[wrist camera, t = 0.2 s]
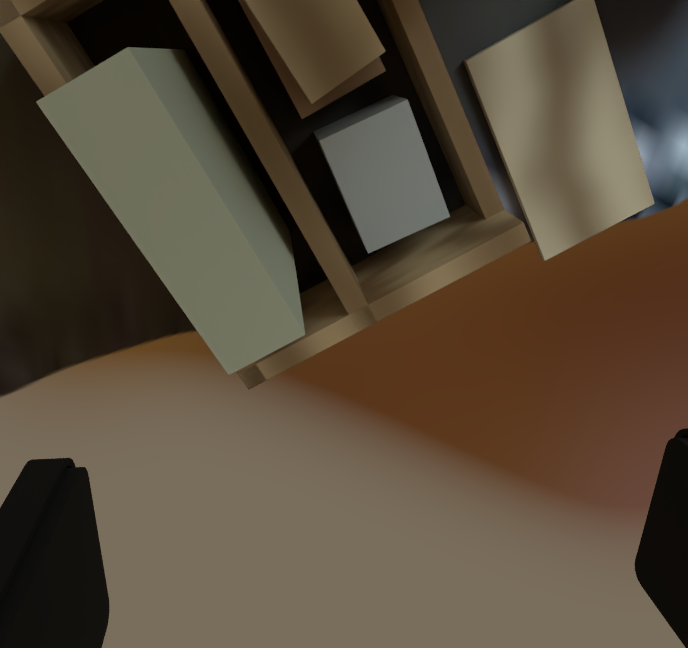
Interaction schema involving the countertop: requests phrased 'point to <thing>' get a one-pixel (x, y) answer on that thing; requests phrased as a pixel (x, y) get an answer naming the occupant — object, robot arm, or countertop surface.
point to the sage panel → (185, 197)
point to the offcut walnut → (291, 85)
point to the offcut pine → (318, 40)
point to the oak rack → (343, 278)
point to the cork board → (562, 126)
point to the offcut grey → (383, 172)
